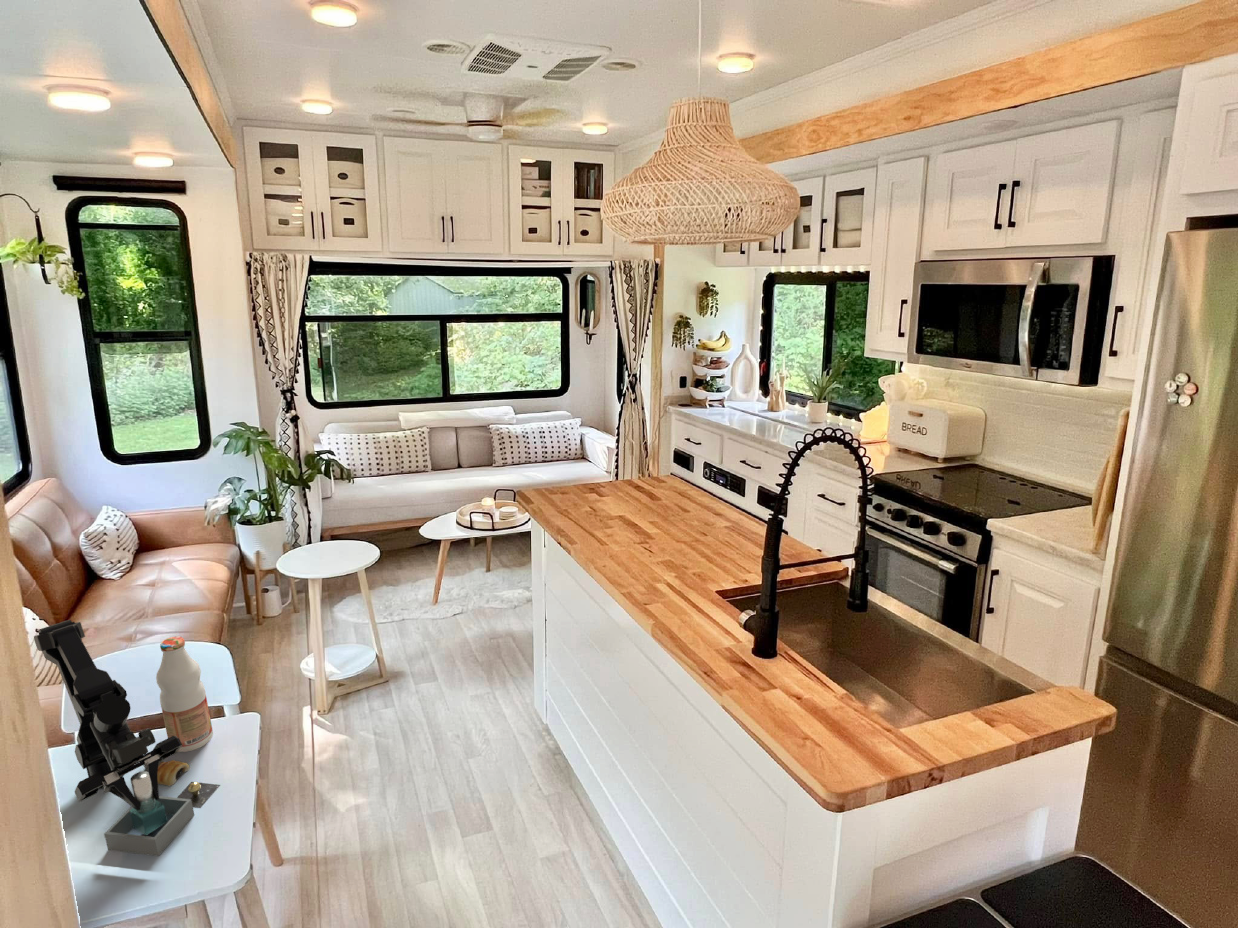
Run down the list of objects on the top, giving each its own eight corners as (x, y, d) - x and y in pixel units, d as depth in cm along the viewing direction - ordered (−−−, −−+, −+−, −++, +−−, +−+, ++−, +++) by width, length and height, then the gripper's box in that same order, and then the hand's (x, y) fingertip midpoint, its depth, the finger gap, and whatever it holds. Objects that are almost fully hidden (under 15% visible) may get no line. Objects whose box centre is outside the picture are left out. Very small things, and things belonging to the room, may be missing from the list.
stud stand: (171, 808, 166) (167, 793, 165) (192, 785, 173) (189, 770, 172) (201, 811, 166) (198, 796, 164) (221, 788, 172) (218, 773, 171)
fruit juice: (161, 753, 183) (138, 651, 174) (186, 728, 192) (166, 629, 183) (198, 756, 182) (178, 653, 173) (221, 731, 191) (203, 632, 182)
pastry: (136, 785, 173) (133, 771, 172) (158, 765, 180) (155, 751, 178) (173, 790, 172) (170, 776, 171) (194, 770, 178) (191, 756, 177)
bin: (109, 853, 155) (104, 833, 153) (147, 812, 165) (143, 794, 163) (159, 859, 153) (154, 839, 152) (195, 818, 164) (191, 799, 162)
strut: (133, 826, 158) (122, 779, 154) (155, 813, 161) (144, 766, 157) (145, 835, 156) (134, 787, 152) (167, 821, 159) (157, 773, 155)
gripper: (67, 749, 146) (102, 822, 144) (170, 702, 160) (204, 768, 158) (60, 765, 153) (94, 836, 151) (159, 719, 167) (192, 782, 165)
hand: (148, 804), depth 156 cm, fingers closed on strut, 3 cm apart
